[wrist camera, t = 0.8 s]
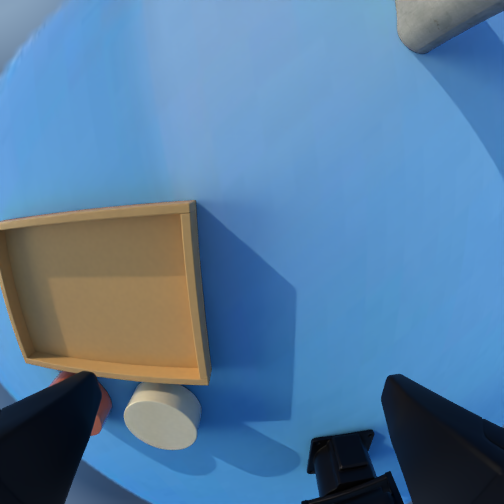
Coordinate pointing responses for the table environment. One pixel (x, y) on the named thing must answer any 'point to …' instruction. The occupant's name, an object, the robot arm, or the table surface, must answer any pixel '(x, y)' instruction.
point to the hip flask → (440, 20)
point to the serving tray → (109, 292)
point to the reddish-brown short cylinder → (104, 405)
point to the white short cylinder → (163, 415)
